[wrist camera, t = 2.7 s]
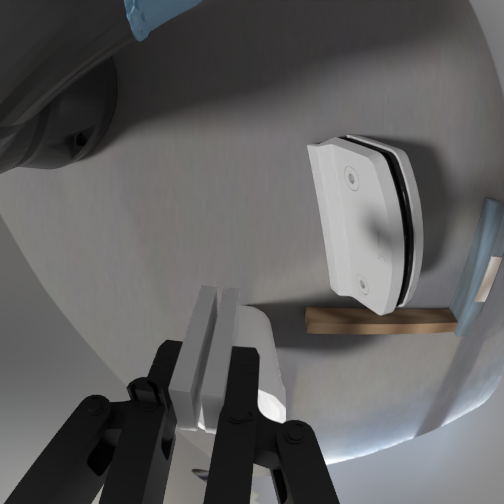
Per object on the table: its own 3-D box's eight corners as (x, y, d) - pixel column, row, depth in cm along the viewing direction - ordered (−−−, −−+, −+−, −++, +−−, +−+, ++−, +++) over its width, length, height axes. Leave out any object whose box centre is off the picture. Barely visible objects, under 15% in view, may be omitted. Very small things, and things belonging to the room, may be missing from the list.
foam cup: (192, 330, 38) (168, 414, 26) (231, 280, 34) (213, 368, 23) (255, 362, 40) (249, 446, 28) (299, 319, 36) (307, 409, 25)
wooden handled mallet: (304, 316, 36) (307, 340, 32) (325, 172, 28) (333, 183, 25) (455, 317, 36) (468, 336, 32) (496, 200, 28) (516, 212, 24)
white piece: (306, 141, 27) (372, 149, 18) (347, 131, 28) (420, 138, 19) (331, 291, 34) (382, 341, 25) (365, 276, 35) (420, 319, 26)
